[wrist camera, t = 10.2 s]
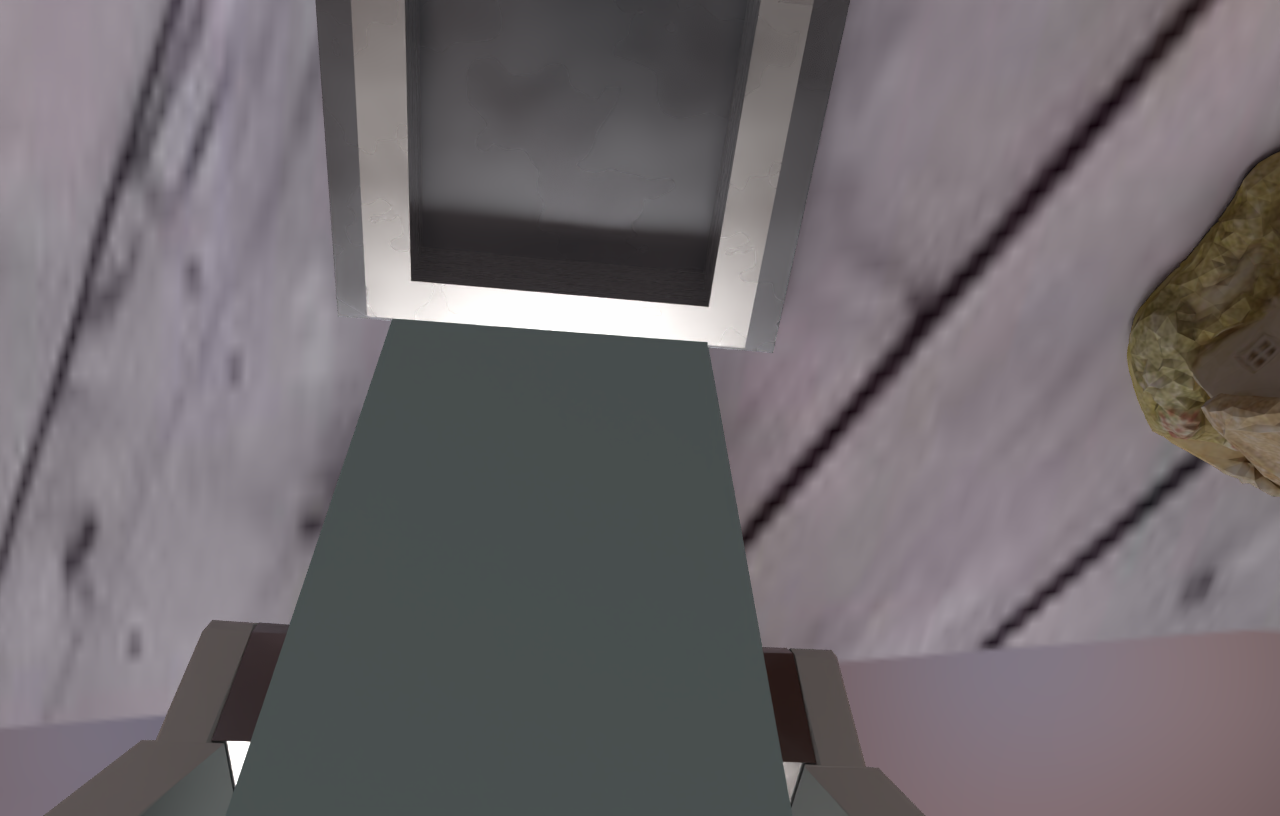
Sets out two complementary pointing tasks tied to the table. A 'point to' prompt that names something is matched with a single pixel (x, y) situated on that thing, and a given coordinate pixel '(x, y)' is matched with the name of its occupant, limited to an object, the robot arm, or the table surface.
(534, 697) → the block
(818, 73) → the collar socket
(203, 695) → the robot arm
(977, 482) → the table surface
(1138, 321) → the ceramic model
